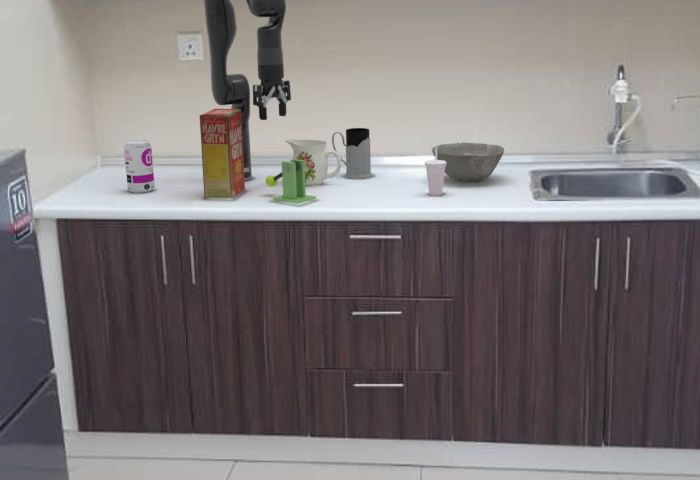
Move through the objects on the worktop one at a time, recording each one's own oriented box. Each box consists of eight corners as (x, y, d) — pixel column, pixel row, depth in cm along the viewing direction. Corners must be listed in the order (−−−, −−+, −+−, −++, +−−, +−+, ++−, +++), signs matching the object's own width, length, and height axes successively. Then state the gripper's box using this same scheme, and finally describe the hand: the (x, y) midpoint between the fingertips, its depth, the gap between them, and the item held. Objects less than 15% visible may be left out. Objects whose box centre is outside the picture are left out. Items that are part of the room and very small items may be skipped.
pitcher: (336, 190, 299) (334, 145, 295) (280, 187, 304) (278, 143, 300) (347, 182, 309) (345, 139, 305) (293, 180, 314) (291, 137, 310)
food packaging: (233, 200, 288) (228, 114, 281) (202, 199, 290) (196, 114, 282) (246, 190, 301) (242, 108, 293) (217, 189, 302) (211, 108, 295)
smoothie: (448, 192, 293) (449, 145, 289) (443, 197, 287) (443, 149, 283) (428, 191, 295) (428, 144, 291) (422, 195, 289) (422, 148, 285)
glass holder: (362, 179, 313) (361, 132, 308) (325, 175, 320) (324, 129, 315) (377, 174, 320) (376, 128, 315) (340, 170, 327) (339, 125, 322)
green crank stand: (272, 201, 286) (270, 161, 282) (290, 196, 292) (288, 157, 288) (299, 205, 280) (297, 165, 277) (316, 200, 286) (315, 160, 283)
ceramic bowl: (486, 190, 294) (486, 157, 291) (418, 183, 306) (418, 151, 303) (516, 177, 312) (516, 145, 309) (451, 170, 324) (451, 140, 321)
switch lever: (266, 189, 289) (261, 179, 289) (274, 187, 292) (269, 177, 292) (295, 171, 281) (290, 160, 281) (302, 169, 283) (297, 158, 283)
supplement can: (160, 188, 306) (156, 140, 301) (144, 194, 298) (139, 145, 294) (139, 186, 309) (134, 139, 304) (122, 192, 302) (117, 143, 297)
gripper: (276, 60, 296) (279, 114, 301) (244, 64, 285) (247, 120, 290) (295, 61, 292) (298, 115, 297) (263, 65, 281) (266, 122, 286)
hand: (273, 117), depth 293 cm, fingers open, 8 cm apart
